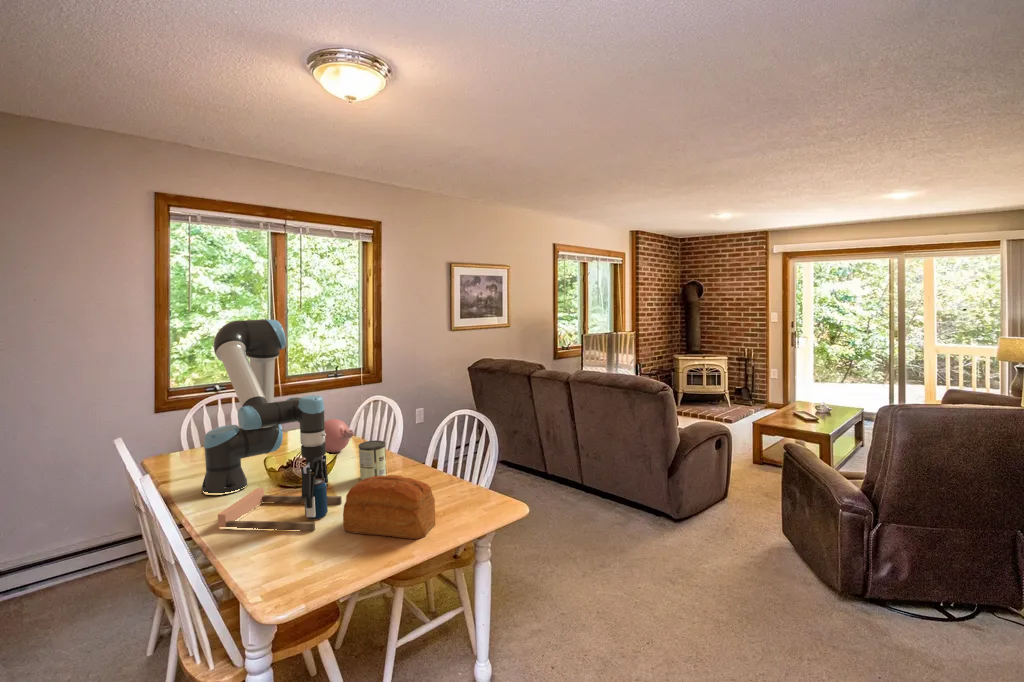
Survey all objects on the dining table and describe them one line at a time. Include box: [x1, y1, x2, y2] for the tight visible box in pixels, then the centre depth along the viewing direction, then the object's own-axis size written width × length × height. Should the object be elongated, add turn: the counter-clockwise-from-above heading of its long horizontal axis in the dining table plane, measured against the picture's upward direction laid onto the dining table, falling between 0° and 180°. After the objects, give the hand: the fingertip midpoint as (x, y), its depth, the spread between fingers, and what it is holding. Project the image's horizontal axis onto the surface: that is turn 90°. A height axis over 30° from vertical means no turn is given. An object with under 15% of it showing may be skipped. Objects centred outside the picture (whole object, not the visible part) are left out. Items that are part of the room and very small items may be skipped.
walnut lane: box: [226, 494, 343, 532], centre depth 174 cm, size 28×22×2 cm
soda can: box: [304, 478, 329, 520], centre depth 173 cm, size 7×7×12 cm
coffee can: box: [358, 440, 387, 481], centre depth 208 cm, size 10×10×14 cm
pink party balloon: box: [324, 418, 355, 454], centre depth 244 cm, size 15×20×15 cm
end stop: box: [217, 487, 265, 528], centre depth 175 cm, size 2×22×5 cm, turn 176°
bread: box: [342, 474, 436, 540], centre depth 164 cm, size 16×27×16 cm, turn 76°
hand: (316, 511), depth 173 cm, fingers open, 7 cm apart
